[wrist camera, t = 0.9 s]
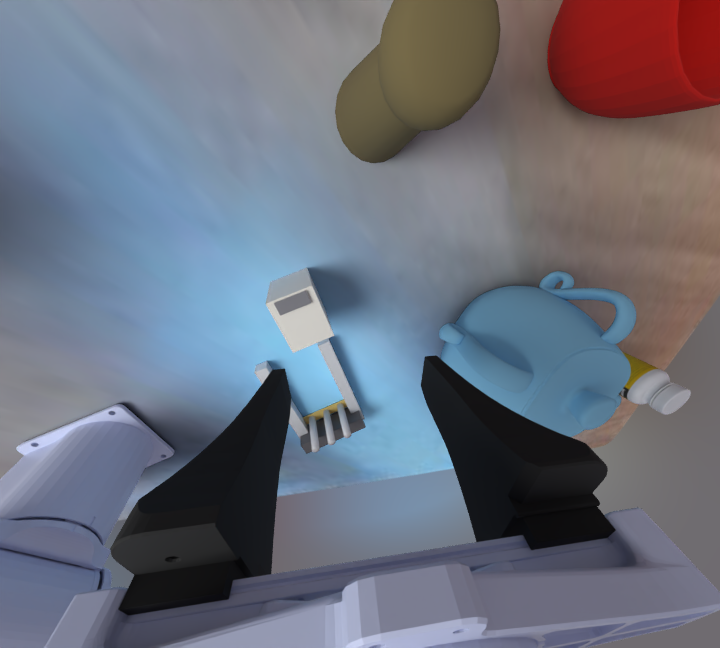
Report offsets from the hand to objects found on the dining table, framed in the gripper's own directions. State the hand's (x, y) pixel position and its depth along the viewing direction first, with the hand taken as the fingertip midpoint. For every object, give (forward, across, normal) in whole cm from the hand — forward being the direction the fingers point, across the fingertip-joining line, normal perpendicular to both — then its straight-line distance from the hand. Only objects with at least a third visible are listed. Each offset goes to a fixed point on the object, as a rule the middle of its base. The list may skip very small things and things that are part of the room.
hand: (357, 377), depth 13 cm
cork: (+15, -3, -13) cm, 20 cm away
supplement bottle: (+17, -38, +17) cm, 45 cm away
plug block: (+12, +4, +1) cm, 13 cm away
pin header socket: (+12, +4, +13) cm, 18 cm away
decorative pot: (+15, -18, +9) cm, 25 cm away
